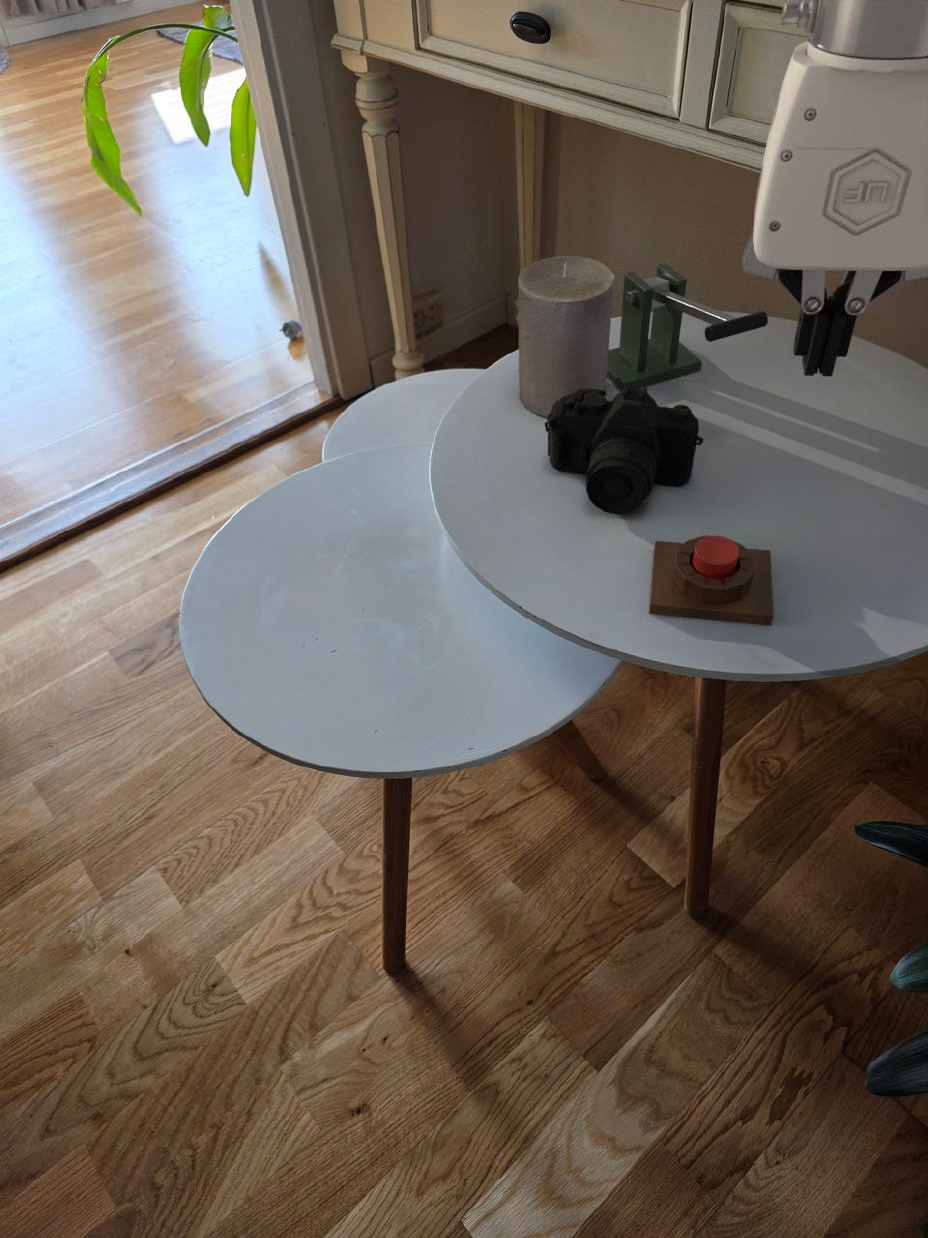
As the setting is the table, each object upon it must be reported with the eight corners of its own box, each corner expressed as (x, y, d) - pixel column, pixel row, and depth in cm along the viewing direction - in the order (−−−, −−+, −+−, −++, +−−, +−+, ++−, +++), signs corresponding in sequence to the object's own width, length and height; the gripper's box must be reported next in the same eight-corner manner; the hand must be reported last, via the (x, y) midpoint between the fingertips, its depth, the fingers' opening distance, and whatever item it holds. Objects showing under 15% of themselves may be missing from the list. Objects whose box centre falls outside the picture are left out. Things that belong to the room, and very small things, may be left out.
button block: (767, 560, 78) (774, 534, 75) (770, 625, 72) (778, 600, 70) (654, 550, 79) (657, 525, 77) (648, 613, 74) (652, 588, 72)
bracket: (700, 370, 99) (714, 278, 91) (622, 392, 97) (629, 301, 89) (668, 342, 104) (679, 252, 96) (593, 363, 101) (597, 273, 94)
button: (735, 552, 75) (739, 537, 74) (736, 581, 73) (739, 566, 71) (692, 548, 76) (695, 533, 74) (691, 577, 73) (694, 562, 72)
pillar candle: (515, 375, 101) (512, 247, 90) (599, 367, 101) (606, 238, 90) (524, 423, 94) (521, 291, 83) (613, 415, 94) (623, 282, 83)
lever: (767, 333, 83) (769, 307, 81) (712, 348, 81) (713, 323, 80) (671, 294, 96) (671, 271, 95) (623, 307, 95) (622, 284, 93)
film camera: (530, 505, 85) (529, 428, 78) (552, 447, 91) (553, 371, 84) (688, 528, 81) (701, 449, 75) (700, 466, 87) (713, 388, 81)
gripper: (732, 43, 40) (691, 393, 53) (1096, 28, 37) (957, 402, 50) (732, 3, 45) (694, 332, 58) (1052, -13, 42) (936, 337, 55)
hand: (816, 364), depth 54 cm, fingers closed
